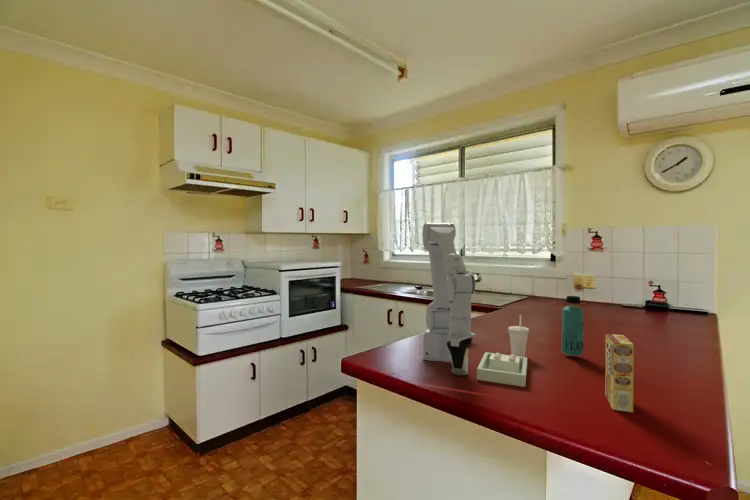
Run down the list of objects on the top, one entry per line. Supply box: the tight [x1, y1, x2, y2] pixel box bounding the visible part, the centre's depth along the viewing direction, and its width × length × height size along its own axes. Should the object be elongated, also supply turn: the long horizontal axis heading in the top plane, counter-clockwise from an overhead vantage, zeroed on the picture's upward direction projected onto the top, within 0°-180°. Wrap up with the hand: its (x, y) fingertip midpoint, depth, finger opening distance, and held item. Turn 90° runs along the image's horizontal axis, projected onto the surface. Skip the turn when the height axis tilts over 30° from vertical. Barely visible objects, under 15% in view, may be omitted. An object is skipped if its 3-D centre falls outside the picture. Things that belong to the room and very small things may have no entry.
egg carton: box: [489, 352, 520, 373], centre depth 108 cm, size 8×5×4 cm, turn 66°
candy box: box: [604, 333, 635, 413], centre depth 86 cm, size 9×4×15 cm, turn 159°
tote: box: [476, 351, 528, 388], centre depth 104 cm, size 12×16×4 cm
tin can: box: [451, 347, 469, 376], centre depth 103 cm, size 4×4×7 cm
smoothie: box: [507, 314, 530, 357], centre depth 119 cm, size 6×6×14 cm
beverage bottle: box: [561, 295, 585, 357], centre depth 120 cm, size 6×7×20 cm
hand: (459, 365), depth 103 cm, fingers closed on tin can, 4 cm apart
